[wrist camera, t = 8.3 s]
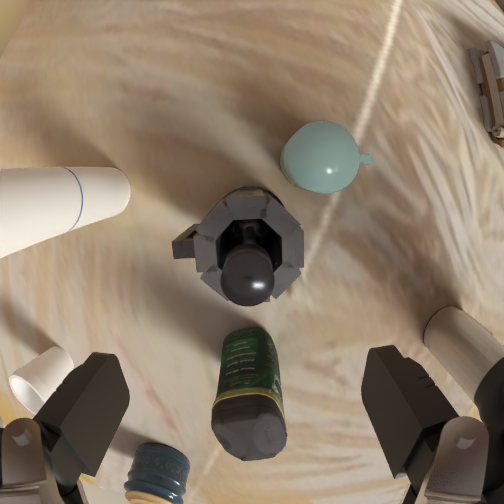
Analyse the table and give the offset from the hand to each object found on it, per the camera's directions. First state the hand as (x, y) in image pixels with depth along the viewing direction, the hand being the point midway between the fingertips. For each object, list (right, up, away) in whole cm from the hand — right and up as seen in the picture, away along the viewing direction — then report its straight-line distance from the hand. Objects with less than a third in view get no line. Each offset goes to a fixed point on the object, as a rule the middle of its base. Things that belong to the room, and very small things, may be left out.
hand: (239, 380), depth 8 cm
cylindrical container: (-20, +13, +29) cm, 38 cm away
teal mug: (+9, +16, +28) cm, 33 cm away
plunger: (0, +7, +26) cm, 27 cm away
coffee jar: (0, -12, +35) cm, 37 cm away
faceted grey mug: (-1, +8, +30) cm, 31 cm away
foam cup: (-38, -17, +37) cm, 55 cm away
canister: (-20, -44, +44) cm, 65 cm away
